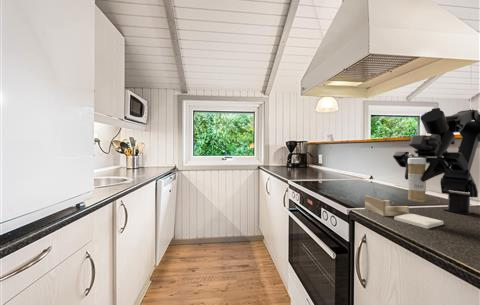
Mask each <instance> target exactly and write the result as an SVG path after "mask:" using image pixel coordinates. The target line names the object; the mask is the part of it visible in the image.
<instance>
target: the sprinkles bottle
mask: <svg viewBox="0 0 480 305" xmlns="http://www.w3.org/2000/svg"><path fill="white" fill-rule="evenodd" d="M426 166H427V164H426V158H408V170H409V171H408V180H407V190H408V191H407V193H408V194H407V196H408V197H407V200H409V201H413V202H426V200H427V199H426V190H427V188H426V187H427V185H426V184H427V182H426V181H427V180H426V181H424V182H422V181H421V178H422V176H423V174H424V172H425V171H426Z"/></svg>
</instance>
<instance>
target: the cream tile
mask: <svg viewBox="0 0 480 305" xmlns="http://www.w3.org/2000/svg"><path fill="white" fill-rule="evenodd" d="M393 219H394V221H398V222H402V223H404V224H409V225H413V226H415V227H420V228H423V229H425V230H426V229H427V230H428V229H431V228H434V227H438V226H442V225H444V221H443V220H440V219H436V218H432V217H427V216H424V215H419V214H416V213H415V214H414V213H410V212H409V214H405V215H399V216H394V218H393Z"/></svg>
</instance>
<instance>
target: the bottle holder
mask: <svg viewBox="0 0 480 305" xmlns="http://www.w3.org/2000/svg"><path fill="white" fill-rule="evenodd" d="M364 209H366V210H368V211H370V212H373V213H375V214H378V215H380V216H382V217H388V216H389V217H390V216H391V217H393V216H394V217H395V216H400V215H405V214H410V206H408V205H395V206H393V205H392V206H391V200H390V199H389V200H388V199H386V200H383V199H379V198H377V197H374V196H370V195H366V194H365V195H364Z"/></svg>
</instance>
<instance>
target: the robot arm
mask: <svg viewBox="0 0 480 305" xmlns="http://www.w3.org/2000/svg"><path fill="white" fill-rule="evenodd" d="M420 121H421V123H422V126H423V128H424V129H425V132H426V134H429V135H426V134H423V135H422V134H421V135H420V134H418V135H412V136H411V138H410V141H409V143H408V147H412V148H413V149H414V153H415V154H417V155H415V154H413V153H410V152H409V151H395V153H394V154H393V156H392V157H393V159H394V160H395V162H396V163H397V164H398V165H399V167H401V168H405V173H404V178H405V180H406V181H408V171H409V170H408V158H426V164H425V165H428V167H427V168H425V172H424V174H423V176H422V178H421V181H422V182H424V181H428V180H430V179H432V178H434V177H437V176H440V175H442V174H443V175H442V177H441V178H440V189H441V194H447V195H448V197H447V207H446V208H443V211H446V212H451V213H457V214H462V215H471V214H473V213H475V211H474V210H471V209H470V208H471V198H478V197H479V196H478V195H479V193H478V192H479V190H478V187H477V184H476V182H475V180H474V178H473V176H472V174H471V170H472V165H473V162H474V159H475V156H476V152H477V148H478V144H479V142H480V113H479V111H478V110H477V109H467V110H466V109H465V110H460V111H458V112H457V113H455V114H452V115H447V116H446V115H445V112H444V111H443V110H442V109H441V108H440V107H437V108H436V107H434V108H432V109H431V110H429V111H427V112H425V113H423V114H422V115H421V116H420ZM455 133H459V135H460V137H461V140H460V144H459V147H458V149H457V150H458V151H457V152H455V151H453V152H451V151H448V148H449V147H450V146H451V145H452V146H453V145H455V144H456V141H455V138H456V135H455Z"/></svg>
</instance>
